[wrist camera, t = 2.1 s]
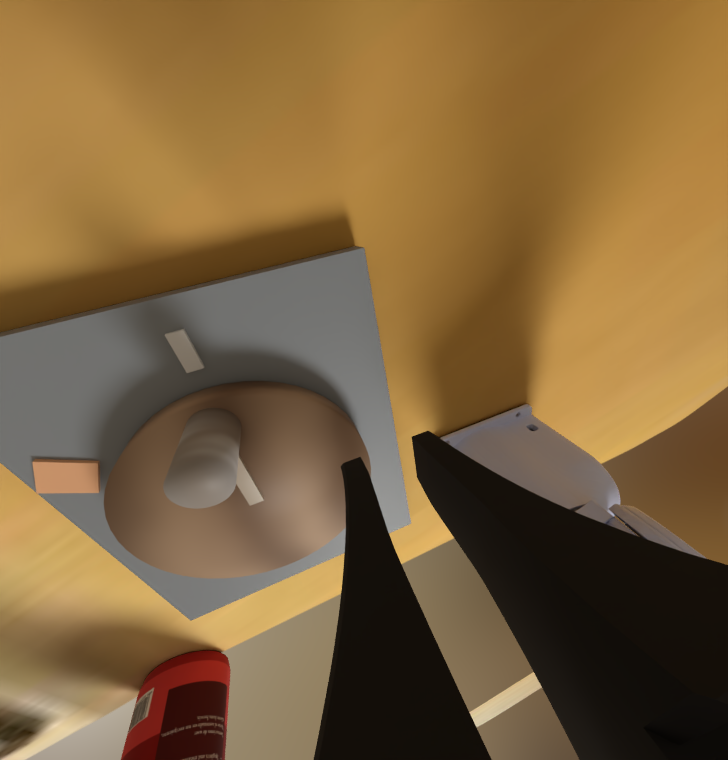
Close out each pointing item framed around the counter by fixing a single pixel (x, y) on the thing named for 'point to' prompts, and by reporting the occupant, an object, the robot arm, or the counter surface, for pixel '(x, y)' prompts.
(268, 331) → the board
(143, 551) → the dial
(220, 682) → the canned food
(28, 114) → the counter surface
